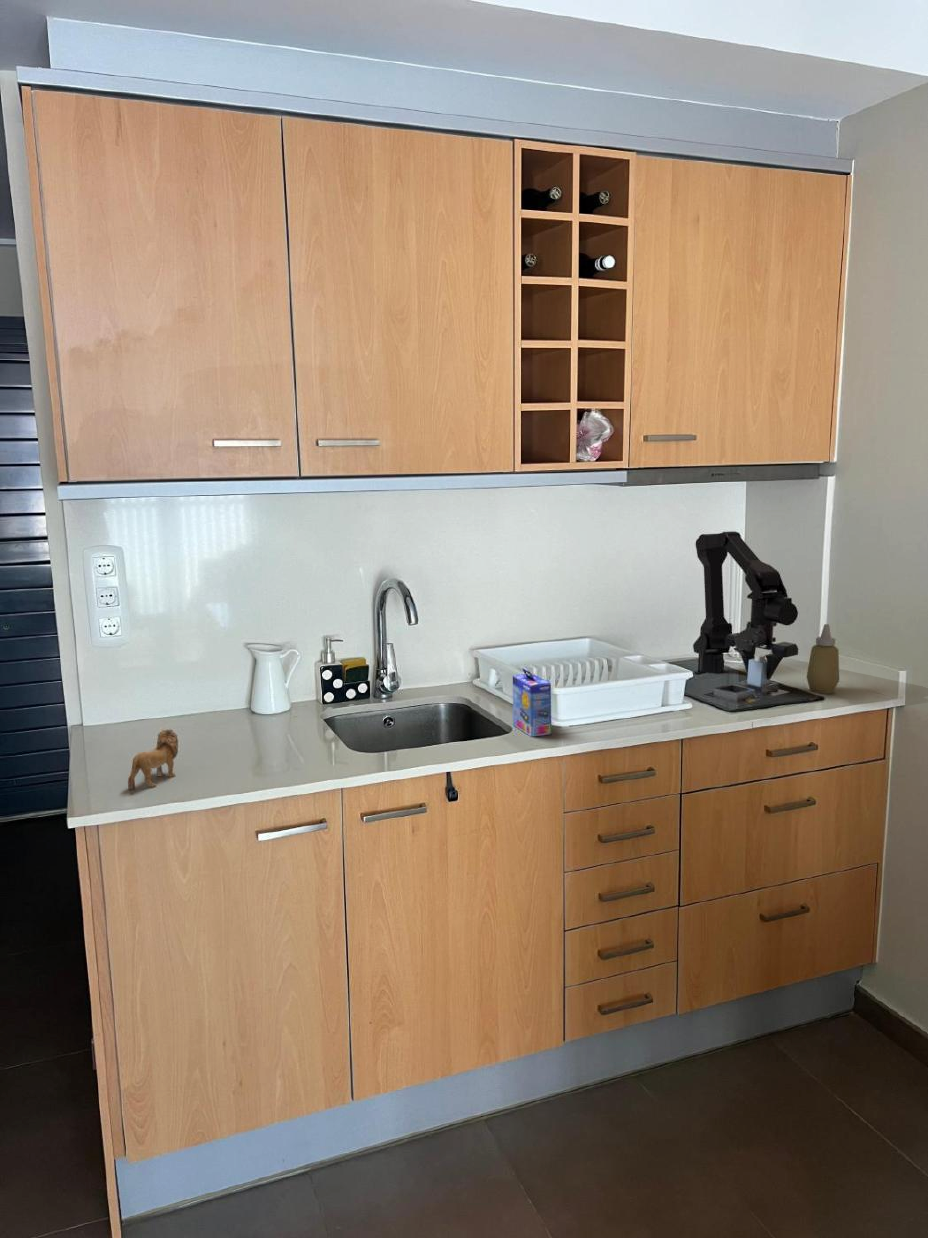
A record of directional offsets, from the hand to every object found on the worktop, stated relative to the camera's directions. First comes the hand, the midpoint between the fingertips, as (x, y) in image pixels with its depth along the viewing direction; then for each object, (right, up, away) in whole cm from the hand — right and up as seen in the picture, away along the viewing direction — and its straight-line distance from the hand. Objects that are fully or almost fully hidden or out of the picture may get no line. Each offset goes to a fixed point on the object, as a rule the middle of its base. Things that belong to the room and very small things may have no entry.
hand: (758, 677), depth 245 cm
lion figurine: (-138, -17, -59) cm, 151 cm away
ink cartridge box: (-61, -11, -29) cm, 68 cm away
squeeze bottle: (+17, -4, +3) cm, 18 cm away
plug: (0, -3, +1) cm, 4 cm away
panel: (-4, -5, -2) cm, 7 cm away
